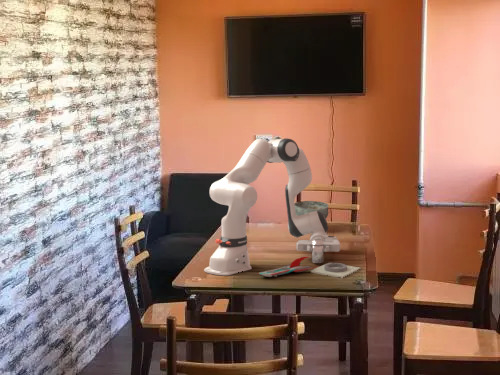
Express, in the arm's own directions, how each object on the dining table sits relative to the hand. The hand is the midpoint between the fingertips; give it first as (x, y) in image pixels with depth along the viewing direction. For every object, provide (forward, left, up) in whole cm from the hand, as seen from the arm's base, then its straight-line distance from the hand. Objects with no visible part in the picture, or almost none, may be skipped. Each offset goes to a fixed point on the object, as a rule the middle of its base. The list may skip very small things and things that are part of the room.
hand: (317, 250), depth 330 cm
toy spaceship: (-20, +4, -7) cm, 21 cm away
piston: (+1, 0, -6) cm, 6 cm away
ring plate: (-4, -12, -7) cm, 14 cm away
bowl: (+57, +39, -7) cm, 70 cm away
